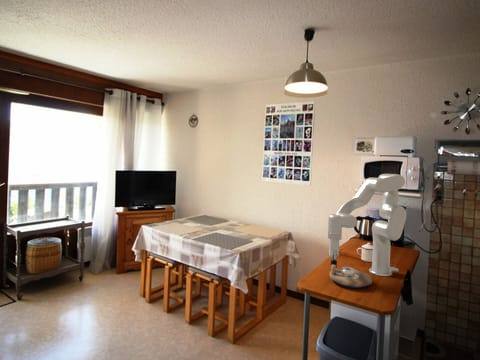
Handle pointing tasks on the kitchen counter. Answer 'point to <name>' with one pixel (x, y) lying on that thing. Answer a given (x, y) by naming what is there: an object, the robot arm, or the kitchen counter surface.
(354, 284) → the disc
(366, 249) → the teacup with lid
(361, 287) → the turntable base
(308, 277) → the kitchen counter surface
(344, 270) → the cover
